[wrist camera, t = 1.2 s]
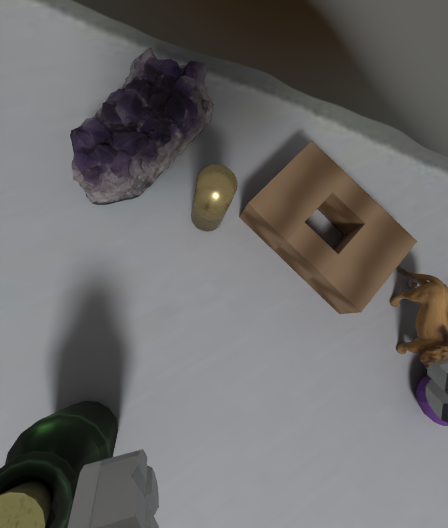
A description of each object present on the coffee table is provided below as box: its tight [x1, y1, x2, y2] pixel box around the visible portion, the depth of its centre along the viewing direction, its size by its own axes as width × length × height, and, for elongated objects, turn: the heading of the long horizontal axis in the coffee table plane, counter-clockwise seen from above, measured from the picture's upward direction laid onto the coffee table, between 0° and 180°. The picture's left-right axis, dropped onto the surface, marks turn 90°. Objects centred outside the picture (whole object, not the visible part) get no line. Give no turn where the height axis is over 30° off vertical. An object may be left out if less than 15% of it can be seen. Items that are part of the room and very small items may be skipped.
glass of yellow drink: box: [191, 165, 237, 231], centre depth 38 cm, size 4×4×10 cm
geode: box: [70, 48, 214, 205], centre depth 39 cm, size 20×12×10 cm, turn 147°
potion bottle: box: [0, 401, 118, 528], centre depth 27 cm, size 8×8×18 cm
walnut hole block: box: [240, 141, 417, 314], centre depth 42 cm, size 18×12×5 cm, turn 47°
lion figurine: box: [390, 266, 448, 369], centre depth 40 cm, size 15×5×9 cm, turn 9°
